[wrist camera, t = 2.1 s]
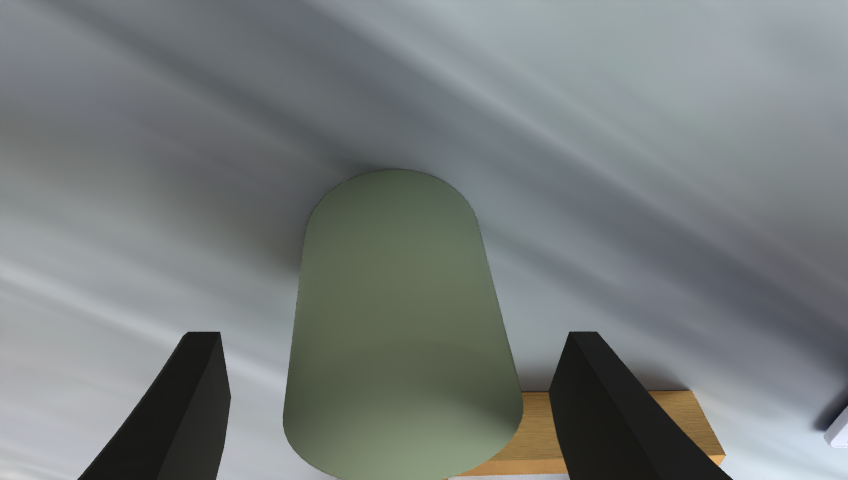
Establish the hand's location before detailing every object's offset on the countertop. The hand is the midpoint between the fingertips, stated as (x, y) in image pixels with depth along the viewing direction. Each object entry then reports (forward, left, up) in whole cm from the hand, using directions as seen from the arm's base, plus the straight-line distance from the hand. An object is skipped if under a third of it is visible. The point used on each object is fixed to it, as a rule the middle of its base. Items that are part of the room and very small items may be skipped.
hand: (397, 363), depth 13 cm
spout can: (0, 0, -4) cm, 4 cm away
